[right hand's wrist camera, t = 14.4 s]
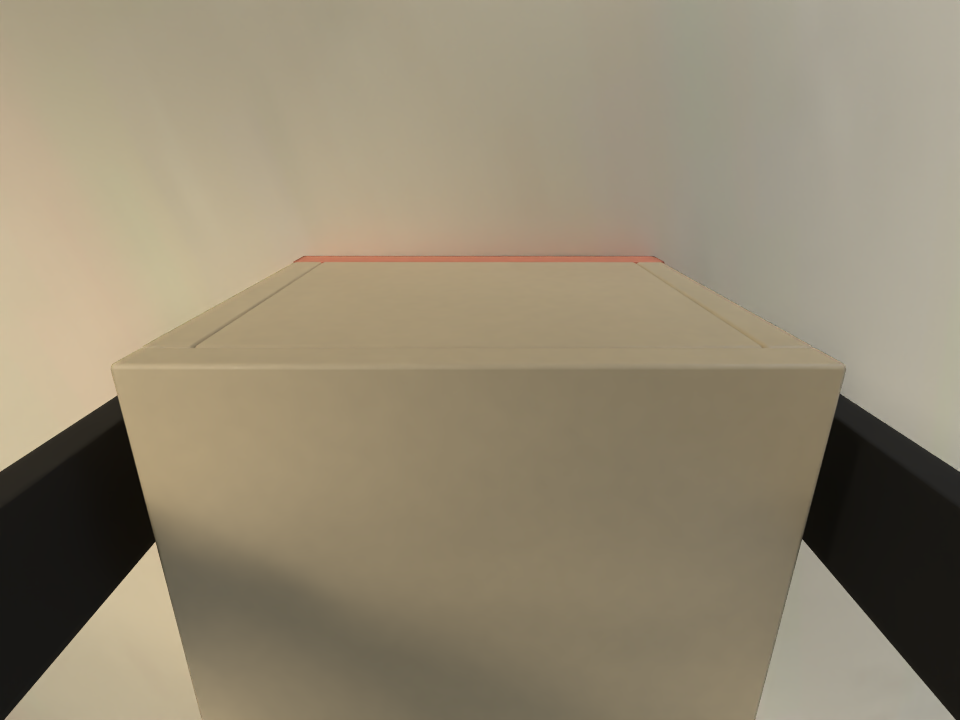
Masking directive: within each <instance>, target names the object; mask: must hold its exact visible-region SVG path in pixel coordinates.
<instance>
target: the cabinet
mask: <svg viewBox="0 0 960 720" xmlns="http://www.w3.org/2000/svg"><path fill="white" fill-rule="evenodd" d="M845 371H846V366H845V365H844V364H843V363H841V362H839V361H838V360H836V359H834V358H832V357H830V356H829V355H827V354H825V353H823V352H822V351H820V350H818V349H815V348H813V347H812V346H811V345H809V344H807V343H805V342H804V341H802V340H800V339H798V338H796V337H795V336H793V335H791V334H789V333H787V332H786V331H784V330H782V329H780V328H778V327H777V326H775V325H773V324H771V323H769V322H768V321H766V320H764V319H762V318H761V317H759V316H757V315H755V314H753V313H752V312H750V311H748V310H746V309H744V308H743V307H741V306H739V305H737V304H735V303H734V302H732V301H730V300H728V299H726V298H725V297H723V296H721V295H719V294H717V293H716V292H714V291H712V290H710V289H709V288H707V287H705V286H703V285H701V284H700V283H698V282H696V281H694V280H692V279H691V278H689V277H687V276H685V275H683V274H682V273H680V272H678V271H676V270H674V269H673V268H671V267H669V266H667V265H665V264H664V262H663V261H661V260H660V259H658V258H656V257H654V256H303V257H301V258H300V259H298V260H296V261H294V263H293V264H291V265H289V266H287V267H285V268H284V269H282V270H280V271H278V272H276V273H275V274H273V275H271V276H269V277H267V278H265V279H264V280H262V281H260V282H258V283H256V284H255V285H253V286H251V287H249V288H247V289H246V290H244V291H242V292H240V293H238V294H237V295H235V296H233V297H231V298H229V299H227V300H226V301H224V302H222V303H220V304H218V305H217V306H215V307H213V308H211V309H209V310H208V311H206V312H204V313H202V314H200V315H198V316H197V317H195V318H193V319H191V320H189V321H188V322H186V323H184V324H182V325H180V326H179V327H177V328H175V329H173V330H171V331H170V332H168V333H166V334H164V335H162V336H160V337H159V338H157V339H155V340H153V341H151V342H150V343H148V344H146V345H144V346H143V348H141V349H139V350H137V351H135V352H133V353H132V354H130V355H128V356H126V357H124V358H123V359H121V360H119V361H117V362H115V363H114V364H112V366H111V372H112V376H113V379H114V383H115V387H116V391H117V395H118V399H119V403H120V406H121V410H122V414H123V418H124V422H125V426H126V429H127V433H128V437H129V441H130V445H131V449H132V453H133V456H134V460H135V464H136V468H137V472H138V476H139V479H140V483H141V487H142V491H143V495H144V499H145V503H146V506H147V510H148V514H149V518H150V522H151V526H152V529H153V533H154V537H155V541H156V545H157V549H158V553H159V556H160V560H161V564H162V568H163V572H164V576H165V579H166V583H167V587H168V591H169V595H170V599H171V603H172V606H173V610H174V614H175V618H176V622H177V626H178V629H179V633H180V637H181V641H182V645H183V649H184V653H185V656H186V660H187V664H188V668H189V672H190V676H191V679H192V683H193V687H194V691H195V695H196V699H197V703H198V706H199V710H200V714H201V718H202V720H755V718H756V714H757V710H758V706H759V702H760V699H761V695H762V691H763V687H764V683H765V679H766V676H767V672H768V668H769V664H770V660H771V656H772V652H773V649H774V645H775V641H776V637H777V633H778V629H779V625H780V622H781V618H782V614H783V610H784V606H785V602H786V599H787V595H788V591H789V587H790V583H791V579H792V575H793V572H794V568H795V564H796V560H797V556H798V552H799V548H800V545H801V541H802V537H803V533H804V529H805V525H806V522H807V518H808V514H809V510H810V506H811V502H812V498H813V495H814V491H815V487H816V483H817V479H818V475H819V472H820V468H821V464H822V460H823V456H824V452H825V448H826V445H827V441H828V437H829V433H830V429H831V425H832V421H833V418H834V414H835V410H836V406H837V402H838V398H839V395H840V391H841V387H842V383H843V379H844V375H845Z"/></svg>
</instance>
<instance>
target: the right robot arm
mask: <svg viewBox="0 0 960 720" xmlns="http://www.w3.org/2000/svg"><path fill="white" fill-rule="evenodd" d="M802 539H803V540H804V541H805V543H806V544H807V545H808V546H809V547H810V549H811V550H812V551H813V552H814V553H815V554H816V556H817V557H818V558H819V559H820V560H821V561H822V563H823V564H824V565H825V566H826V567H827V569H828V570H829V571H830V572H831V573H832V574H833V576H834V577H835V578H836V579H837V580H838V581H839V583H840V584H841V585H842V586H843V587H844V589H845V590H846V591H847V592H848V593H849V594H850V596H851V597H852V598H853V599H854V600H855V602H856V603H857V604H858V605H859V606H860V607H861V609H862V610H863V611H864V612H865V613H866V614H867V616H868V617H869V618H870V619H871V620H872V622H873V623H874V624H875V625H876V626H877V627H878V629H879V630H880V631H881V632H882V633H883V634H884V636H885V637H886V638H887V639H888V640H889V642H890V643H891V644H892V645H893V646H894V647H895V649H896V650H897V651H898V652H899V653H900V654H901V656H902V657H903V658H904V659H905V660H906V662H907V663H908V664H909V665H910V666H911V667H912V669H913V670H914V671H915V672H916V673H917V675H918V676H919V677H920V678H921V679H922V680H923V682H924V683H925V684H926V685H927V686H928V687H929V689H930V690H931V691H932V692H933V693H934V695H935V696H936V697H937V698H938V699H939V700H940V702H941V703H942V704H943V705H944V706H945V707H946V709H947V710H948V711H949V712H950V713H951V715H952V716H953V717H954V718H955V719H956V720H960V472H959V471H957V470H956V469H954V468H953V467H951V466H950V465H948V464H947V463H945V462H944V461H942V460H941V459H939V458H938V457H936V456H934V455H933V454H931V453H930V452H928V451H927V450H925V449H924V448H922V447H921V446H919V445H918V444H916V443H915V442H913V441H911V440H910V439H908V438H907V437H905V436H904V435H902V434H901V433H899V432H898V431H896V430H895V429H893V428H892V427H890V426H888V425H887V424H885V423H884V422H882V421H881V420H879V419H878V418H876V417H875V416H873V415H872V414H870V413H868V412H867V411H865V410H864V409H862V408H861V407H859V406H858V405H856V404H855V403H853V402H852V401H850V400H849V399H847V398H845V397H844V396H842V395H841V394H840V395H839V398H838V402H837V406H836V410H835V414H834V418H833V421H832V425H831V429H830V433H829V437H828V441H827V445H826V448H825V452H824V456H823V460H822V464H821V468H820V472H819V475H818V479H817V483H816V487H815V491H814V495H813V498H812V502H811V506H810V510H809V514H808V518H807V522H806V525H805V529H804V533H803V537H802ZM154 543H155V537H154V533H153V529H152V526H151V522H150V518H149V514H148V510H147V506H146V503H145V499H144V495H143V491H142V487H141V483H140V479H139V476H138V472H137V468H136V464H135V460H134V456H133V453H132V449H131V445H130V441H129V437H128V433H127V429H126V426H125V422H124V418H123V414H122V410H121V406H120V403H119V399H118V396H116V397H115V398H113V399H111V400H110V401H108V402H107V403H105V404H104V405H102V406H101V407H99V408H98V409H96V410H95V411H93V412H92V413H90V414H88V415H87V416H85V417H84V418H82V419H81V420H79V421H78V422H76V423H75V424H73V425H72V426H70V427H68V428H67V429H65V430H64V431H62V432H61V433H59V434H58V435H56V436H55V437H53V438H52V439H50V440H49V441H47V442H45V443H44V444H42V445H41V446H39V447H38V448H36V449H35V450H33V451H32V452H30V453H29V454H27V455H26V456H24V457H22V458H21V459H19V460H18V461H16V462H15V463H13V464H12V465H10V466H9V467H7V468H6V469H4V470H3V471H1V472H0V720H4V719H5V718H6V717H7V716H8V715H9V713H10V712H11V711H12V710H13V709H14V707H15V706H16V705H17V704H18V703H19V702H20V700H21V699H22V698H23V697H24V696H25V695H26V693H27V692H28V691H29V690H30V689H31V687H32V686H33V685H34V684H35V683H36V682H37V680H38V679H39V678H40V677H41V676H42V675H43V673H44V672H45V671H46V670H47V669H48V667H49V666H50V665H51V664H52V663H53V662H54V660H55V659H56V658H57V657H58V656H59V654H60V653H61V652H62V651H63V650H64V649H65V647H66V646H67V645H68V644H69V643H70V642H71V640H72V639H73V638H74V637H75V636H76V634H77V633H78V632H79V631H80V630H81V629H82V627H83V626H84V625H85V624H86V623H87V622H88V620H89V619H90V618H91V617H92V616H93V614H94V613H95V612H96V611H97V610H98V609H99V607H100V606H101V605H102V604H103V603H104V602H105V600H106V599H107V598H108V597H109V596H110V594H111V593H112V592H113V591H114V590H115V589H116V587H117V586H118V585H119V584H120V583H121V581H122V580H123V579H124V578H125V577H126V576H127V574H128V573H129V572H130V571H131V570H132V569H133V567H134V566H135V565H136V564H137V563H138V561H139V560H140V559H141V558H142V557H143V556H144V554H145V553H146V552H147V551H148V550H149V549H150V547H151V546H152V545H153V544H154Z"/></svg>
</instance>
